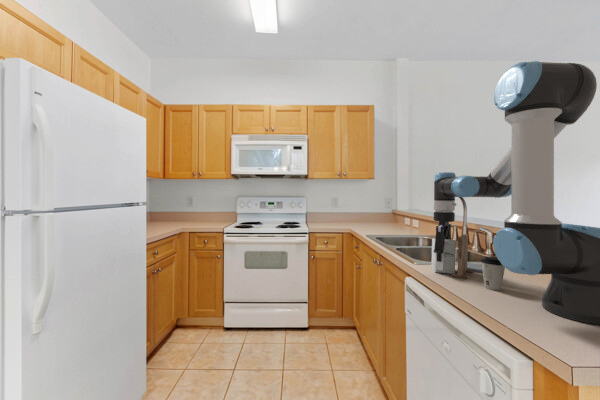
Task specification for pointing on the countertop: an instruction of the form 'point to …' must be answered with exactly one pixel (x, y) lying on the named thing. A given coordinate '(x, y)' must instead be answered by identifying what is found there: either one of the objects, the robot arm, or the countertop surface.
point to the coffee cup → (492, 273)
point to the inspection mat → (475, 267)
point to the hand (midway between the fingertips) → (442, 267)
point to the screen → (462, 257)
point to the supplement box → (445, 256)
